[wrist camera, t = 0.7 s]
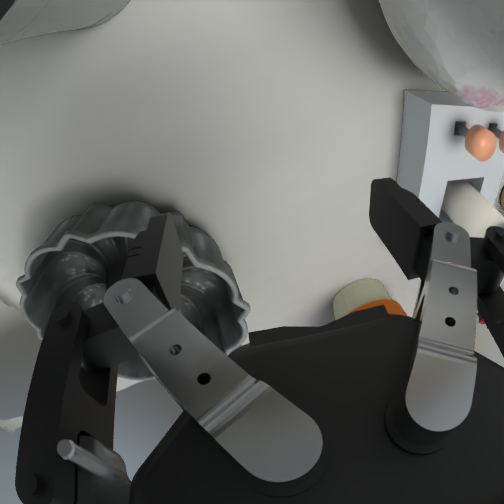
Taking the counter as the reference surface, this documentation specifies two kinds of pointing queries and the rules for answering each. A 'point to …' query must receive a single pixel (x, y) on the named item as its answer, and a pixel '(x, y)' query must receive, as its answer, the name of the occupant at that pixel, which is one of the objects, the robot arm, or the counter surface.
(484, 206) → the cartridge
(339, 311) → the reusable coffee cup
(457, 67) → the ceramic pitcher
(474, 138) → the plunger
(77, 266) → the bundt pan
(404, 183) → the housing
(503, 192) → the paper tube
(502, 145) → the plunger
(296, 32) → the counter surface
